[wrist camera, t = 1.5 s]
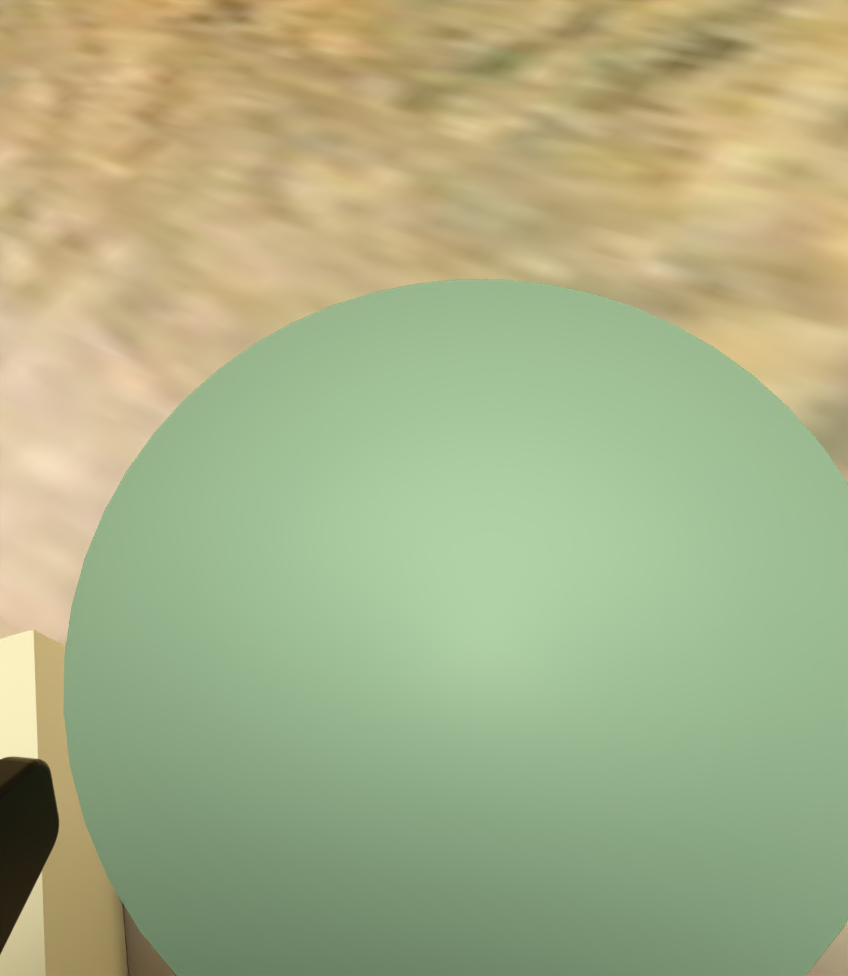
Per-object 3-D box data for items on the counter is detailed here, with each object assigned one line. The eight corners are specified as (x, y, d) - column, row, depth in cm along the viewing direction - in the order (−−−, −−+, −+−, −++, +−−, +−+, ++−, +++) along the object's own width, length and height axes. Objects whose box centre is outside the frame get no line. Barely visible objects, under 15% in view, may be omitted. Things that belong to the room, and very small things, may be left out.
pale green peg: (600, 877, 15) (1116, 929, 3) (412, 936, 15) (91, 1274, 3) (536, 686, 17) (684, 213, 5) (366, 737, 17) (46, 377, 4)
